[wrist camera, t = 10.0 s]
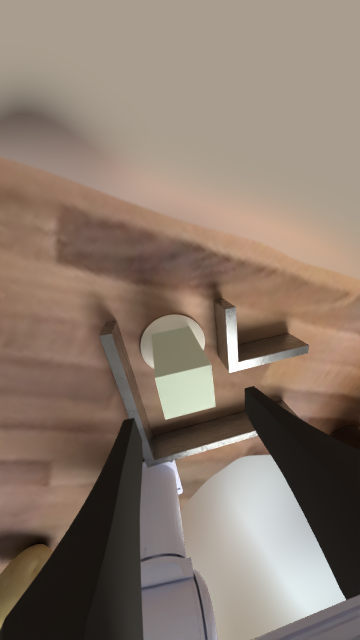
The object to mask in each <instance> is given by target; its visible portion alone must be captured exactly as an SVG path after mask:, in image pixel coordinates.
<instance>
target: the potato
mask: <svg viewBox="0 0 360 640" xmlns="http://www.w3.org/2000/svg"><path fill="white" fill-rule="evenodd" d="M52 553H53V551H52V550H51V549H49V548H48V547H47V546H46V545H43V544H37V545H33V546H31V547H29V548H27V549H25V550H24V551H22V552H21V553H20V554H18V555H17V556H16V557H15V558H14V559H13V560H12V561H11V562H10V563H9V564H8V566H7V567H6V568H5V569H4V571H3V572H2V573H1V575H0V629H1V627H2V624H3V622H4V619H5V618H6V616H7V615H8V614H9V612H10V611H11V610H12V608H13V607H14V606H15V604H16V603H17V601H18V600H19V599H20V597H21V596H22V595H23V593H24V592H25V591H26V589H27V588H28V587H29V585H30V584H31V583H32V581H33V580H34V579H35V577H36V576H37V574H38V573H39V572H40V570H41V569H42V567H43V566H44V565H45V563H46V562H47V560H48V559H49V557H50V556H51V554H52Z"/></svg>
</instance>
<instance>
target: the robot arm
mask: <svg viewBox="0 0 360 640" xmlns="http://www.w3.org/2000/svg"><path fill="white" fill-rule="evenodd" d="M245 412H246V414H247V416H248V418H249V420H250V422H251V424H252V426H253V428H254V429H255V431H256V433H257V434H258V436H259V437H260V439H261V440H262V442H263V443H264V445H265V447H266V448H267V450H268V451H269V453H270V454H271V456H272V457H273V459H274V461H275V462H276V464H277V465H278V467H279V468H280V470H281V472H282V474H283V475H284V477H285V479H286V481H287V483H288V485H289V486H290V488H291V490H292V492H293V494H294V496H295V498H296V500H297V502H298V503H299V505H300V507H301V509H302V511H303V513H304V515H305V517H306V519H307V521H308V523H309V525H310V527H311V529H312V531H313V533H314V535H315V537H316V539H317V541H318V543H319V545H320V547H321V549H322V551H323V553H324V555H325V558H326V560H327V562H328V564H329V566H330V568H331V570H332V572H333V574H334V577H335V578H336V581H337V583H338V585H339V587H340V589H341V591H342V593H343V595H344V596H345V598H346V601H343V602H341V603H339V604H336V605H334V606H332V607H329V608H327V609H324V610H322V611H319V612H317V613H314V614H312V615H310V616H307V617H305V618H303V619H300V620H298V621H295V622H293V623H290V624H288V625H286V626H283V627H281V628H278V629H276V630H274V631H271V632H269V633H267V634H264V635H262V636H259V637H257V638H254V639H252V640H360V450H358V449H356V448H354V447H352V446H350V445H348V444H345V443H343V442H341V441H339V440H337V439H335V438H333V437H331V436H329V435H327V434H325V433H324V432H322V431H320V430H318V429H316V428H315V427H313V426H311V425H309V424H308V423H306V422H304V421H303V420H301V419H300V418H298V417H296V416H295V415H293V414H292V413H290V412H289V411H287V410H286V409H284V408H283V407H281V406H280V405H279V404H277V403H276V402H274V401H273V400H272V399H270V398H269V397H267V396H266V395H265V394H263V393H262V392H261V391H259V390H258V389H257V388H255V387H254V386H253V387H249V388H245ZM182 492H183V489H182V485H181V482H180V478H179V474H178V470H177V467H176V463H175V460H173V461H169V462H166V463H162V464H159V465H155V466H152V467H149V468H147V465H146V462H145V461H144V462H143V450H142V438H141V436H140V433H139V430H138V427H137V424H136V421H135V418H131V419H127V420H124V421H123V423H122V426H121V428H120V431H119V434H118V436H117V438H116V441H115V443H114V446H113V448H112V450H111V452H110V454H109V457H108V459H107V461H106V463H105V465H104V467H103V469H102V471H101V473H100V475H99V477H98V479H97V481H96V483H95V485H94V487H93V489H92V490H91V492H90V494H89V496H88V498H87V499H86V501H85V503H84V505H83V506H82V508H81V510H80V511H79V513H78V514H77V516H76V518H75V519H74V521H73V523H72V524H71V526H70V527H69V529H68V531H67V532H66V534H65V535H64V537H63V538H62V540H61V541H60V543H59V544H58V546H57V547H56V548H55V550H54V551H53V553H52V554H51V556H50V557H49V559H48V560H47V562H46V563H45V565H44V566H43V567H42V569H41V570H40V572H39V573H38V574H37V576H36V577H35V579H34V580H33V581H32V583H31V584H30V585H29V587H28V588H27V589H26V591H25V592H24V593H23V595H22V596H21V597H20V599H19V600H18V601H17V603H16V604H15V606H14V607H13V608H12V610H11V611H10V612H9V614H8V615H7V616H6V618H5V619H4V622H3V624H2V627H1V629H0V640H218V639H217V631H216V625H215V618H214V613H213V608H212V603H211V599H210V595H209V592H208V588H207V586H206V583H205V581H204V579H203V578H202V577H201V575H200V573H199V572H198V570H193V569H192V562H191V558H186V552H185V544H184V536H183V529H182V521H181V514H180V506H179V499H178V495H179V494H181V493H182Z"/></svg>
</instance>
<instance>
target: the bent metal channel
mask: <svg viewBox="0 0 360 640" xmlns="http://www.w3.org/2000/svg"><path fill="white" fill-rule="evenodd" d="M214 309H215V320H216V331H217V343H218V354H219V358H220V360H221V361H222V363H223V364H224V365H225V367H226V368H227V370H228V371H229V373H230V372H234V371H238V370H242V369H246V368H250V367H254V366H258V365H262V364H266V363H270V362H274V361H278V360H282V359H286V358H290V357H294V356H298V355H302V354H306V353H308V348H309V345H308V344H306V343H304V342H303V341H301V340H299V339H298V338H296V337H294V336H293V335H291V334H289V333H288V334H283V335H279V336H275V337H271V338H266V339H262V340H258V341H254V342H249V343H245V344H241V345H237V321H236V307H235V306H233V305H232V304H230V303H229V302H227V301H225V300H224V299H220V300H215V301H214ZM99 337H100V340H101V342H102V345H103V348H104V350H105V353H106V356H107V359H108V361H109V364H110V367H111V370H112V372H113V375H114V378H115V381H116V383H117V386H118V389H119V391H120V394H121V397H122V400H123V402H124V405H125V408H126V411H127V413H128V416H129V419H131V418H135V421H136V424H137V427H138V430H139V433H140V436H141V438H142V450H143V457H144V460H145V462H146V465H147V468H149V467H152V466H155V465H159V464H162V463H166V462H169V461H173V460H176V459H179V458H183V457H186V456H190V455H193V454H197V453H200V452H203V451H207V450H210V449H214V448H217V447H220V446H224V445H227V444H231V443H234V442H238V441H241V440H244V439H248V438H251V437H255V436H258V434H257V433H256V431H255V429H254V428H253V426H252V424H251V422H250V420H249V418H248V416H247V414H246V412H245V411H244V412H240V413H237V414H233V415H229V416H226V417H222V418H218V419H215V420H211V421H208V422H204V423H200V424H197V425H193V426H189V427H186V428H182V429H179V430H175V431H171V432H168V433H164V434H160V435H157V436H153V435H152V432H151V428H150V425H149V422H148V419H147V416H146V412H145V409H144V406H143V403H142V400H141V397H140V393H139V390H138V387H137V384H136V381H135V377H134V374H133V371H132V368H131V365H130V361H129V358H128V355H127V352H126V349H125V346H124V342H123V339H122V336H121V333H120V330H119V326H118V323H117V321H113V322H108V323H106V325H105V326H104V328H103V330H102V332H101V334H100V336H99ZM276 403H277V404H279V405H280V406H281V407H283V408H284V409H286V410H287V411H289V412H290V413H292V414H293V415H295V416H296V417H298V416H297V415H296V414H295V413H294V412H293V411H292V410H291V409H290V408H289V407H288V405H287V404H286V403H285V402H284V401H280V402H276Z"/></svg>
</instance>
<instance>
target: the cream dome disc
mask: <svg viewBox="0 0 360 640" xmlns="http://www.w3.org/2000/svg"><path fill="white" fill-rule="evenodd" d="M188 326H190V328H191V330H192V332H193V333H194V335H195V337H196V339H197V340H198V342H199V344H200V346H201V347H202V349H203V350H204V346H205V337H204V334H203V331H202V329H201V328H200V326H199V325H198V324H197V323H196V322H195V321H194V320H193V319H191V318H189V317H187V316H184V315H178V314H171V315H166V316H162V317H160V318H158V319H156V320H155V321H153V322H152V323H151V324H150V325H149V326H148V327H147V328H146V329H145V331H144V333H143V335H142V338H141V345H140V346H141V354H142V356H143V358H144V360H145V361H146V363H147V364H148V365H149V366H150V367H152V368H153V369H154V359H153V345H152V334H155V333H159V332H164V331H169V330H174V329H178V328H183V327H188Z"/></svg>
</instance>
